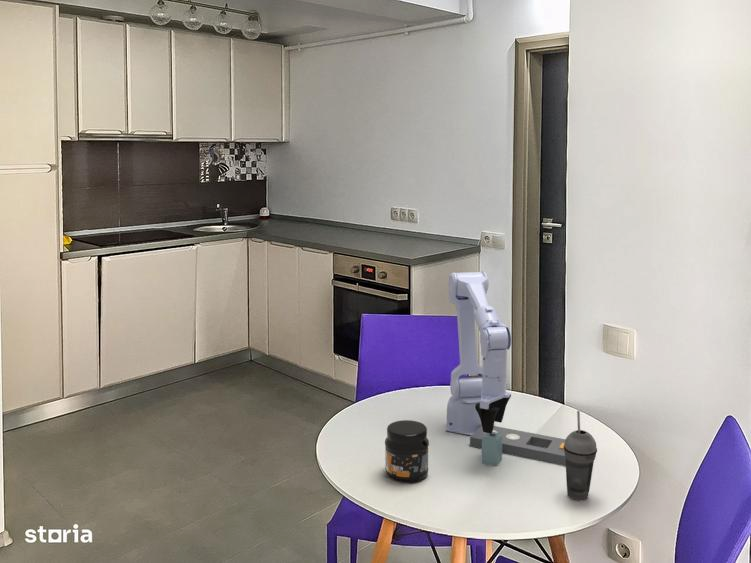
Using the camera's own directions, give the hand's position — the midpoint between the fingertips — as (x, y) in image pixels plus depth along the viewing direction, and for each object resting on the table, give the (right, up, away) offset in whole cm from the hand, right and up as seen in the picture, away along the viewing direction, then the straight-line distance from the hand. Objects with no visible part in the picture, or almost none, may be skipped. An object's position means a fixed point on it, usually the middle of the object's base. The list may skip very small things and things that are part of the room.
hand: (492, 426), depth 177 cm
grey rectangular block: (0, -9, +2) cm, 9 cm away
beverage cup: (+17, -13, -16) cm, 26 cm away
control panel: (+10, -7, +9) cm, 15 cm away
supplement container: (-22, -11, -5) cm, 25 cm away
